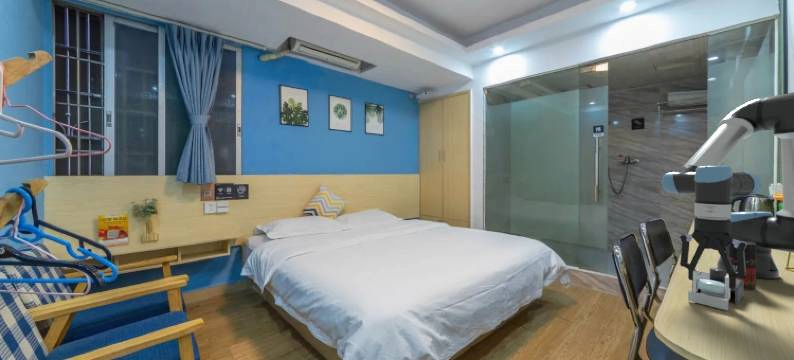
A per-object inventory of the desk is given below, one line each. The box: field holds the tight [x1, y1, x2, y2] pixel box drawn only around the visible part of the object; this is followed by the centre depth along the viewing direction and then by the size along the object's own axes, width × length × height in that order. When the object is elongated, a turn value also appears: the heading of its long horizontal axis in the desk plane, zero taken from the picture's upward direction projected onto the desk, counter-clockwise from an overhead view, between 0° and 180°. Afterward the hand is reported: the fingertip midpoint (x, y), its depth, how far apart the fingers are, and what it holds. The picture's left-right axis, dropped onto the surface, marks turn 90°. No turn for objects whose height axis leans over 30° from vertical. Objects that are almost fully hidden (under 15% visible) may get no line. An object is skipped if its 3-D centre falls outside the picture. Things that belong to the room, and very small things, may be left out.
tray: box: [687, 289, 729, 311], centre depth 89 cm, size 11×8×3 cm
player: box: [691, 267, 745, 305], centre depth 94 cm, size 11×10×8 cm
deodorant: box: [729, 241, 757, 292], centre depth 99 cm, size 6×6×15 cm
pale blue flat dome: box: [697, 279, 725, 294], centre depth 89 cm, size 6×6×2 cm
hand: (711, 294), depth 89 cm, fingers closed on pale blue flat dome, 6 cm apart
